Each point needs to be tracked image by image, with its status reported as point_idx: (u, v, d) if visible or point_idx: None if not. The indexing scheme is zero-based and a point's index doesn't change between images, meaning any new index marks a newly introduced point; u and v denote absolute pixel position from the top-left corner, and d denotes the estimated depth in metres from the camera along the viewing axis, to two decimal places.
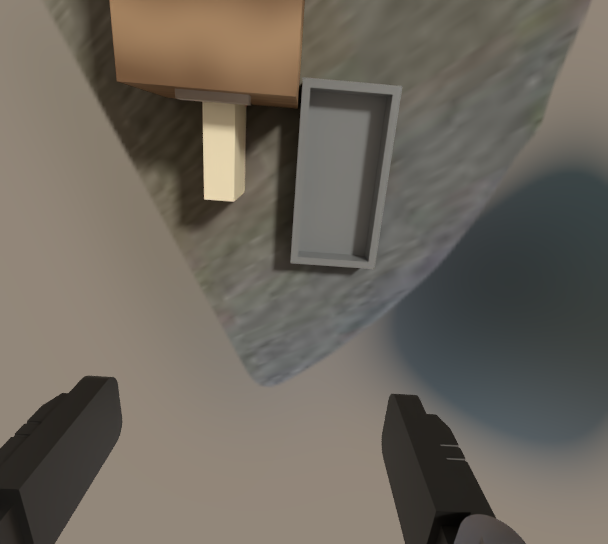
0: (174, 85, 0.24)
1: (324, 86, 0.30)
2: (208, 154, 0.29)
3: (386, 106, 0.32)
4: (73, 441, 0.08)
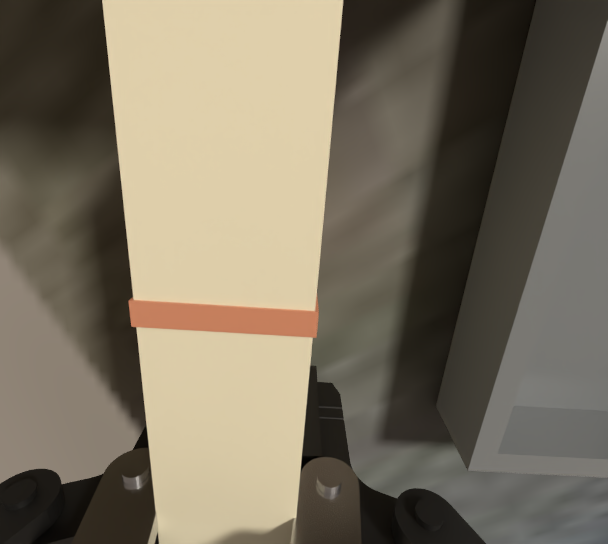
0: None
1: None
2: (180, 528, 0.07)
3: None
4: None
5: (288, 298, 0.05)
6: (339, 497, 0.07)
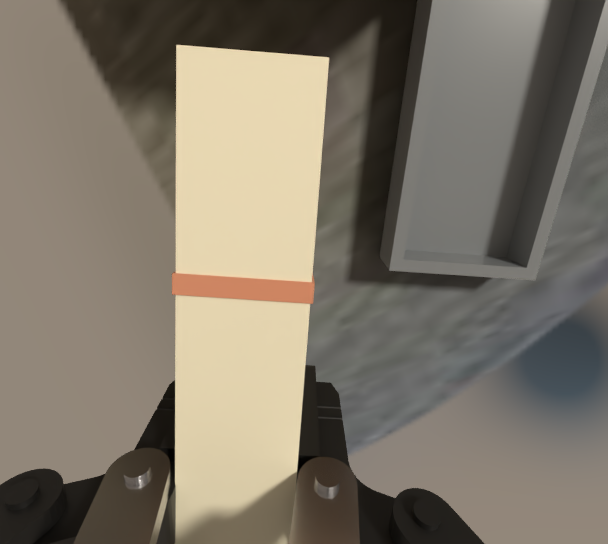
0: None
1: None
2: (195, 489, 0.07)
3: None
4: None
5: (292, 272, 0.07)
6: (337, 497, 0.07)
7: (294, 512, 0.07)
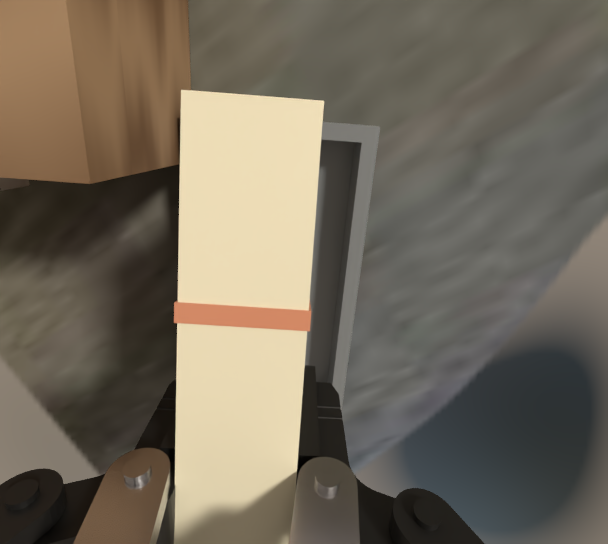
0: None
1: None
2: (194, 514, 0.08)
3: (353, 158, 0.17)
4: None
5: (289, 300, 0.07)
6: (337, 497, 0.07)
7: (294, 512, 0.07)
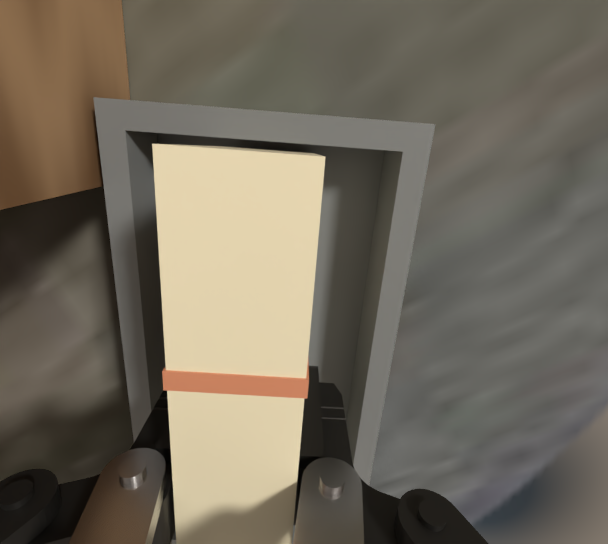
0: None
1: (172, 126, 0.09)
2: None
3: (382, 176, 0.11)
4: None
5: (286, 368, 0.06)
6: (342, 497, 0.07)
7: (299, 513, 0.07)
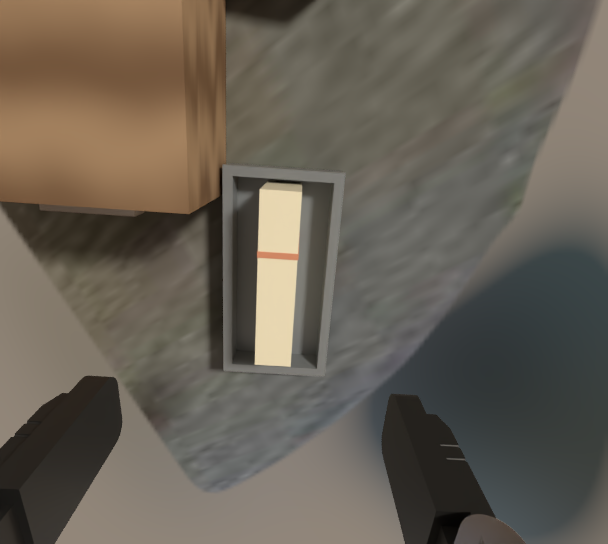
0: (29, 202, 0.18)
1: (249, 174, 0.25)
2: (262, 317, 0.24)
3: (331, 191, 0.27)
4: (73, 441, 0.08)
5: (292, 250, 0.22)
6: None
7: None
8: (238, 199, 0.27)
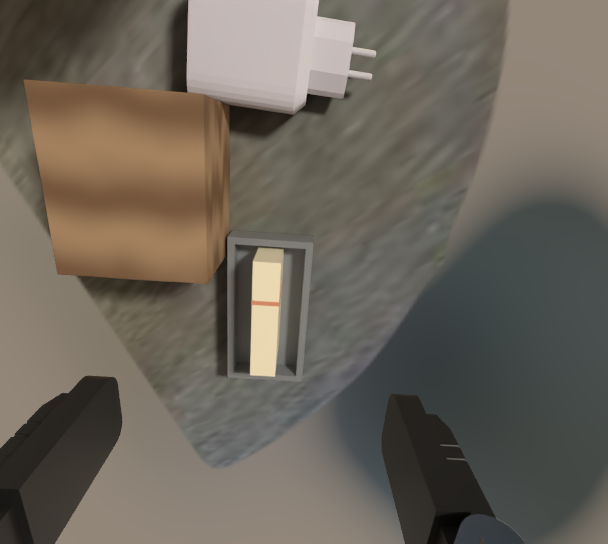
0: (105, 276, 0.29)
1: (246, 243, 0.35)
2: (255, 343, 0.35)
3: (304, 251, 0.37)
4: (73, 441, 0.08)
5: (274, 300, 0.33)
6: None
7: None
8: (238, 256, 0.38)
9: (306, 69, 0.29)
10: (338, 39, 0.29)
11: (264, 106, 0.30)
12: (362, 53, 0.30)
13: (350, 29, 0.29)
